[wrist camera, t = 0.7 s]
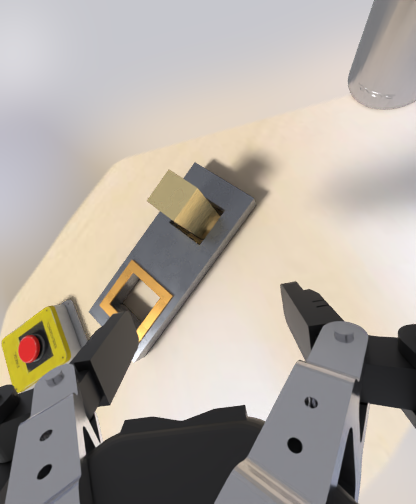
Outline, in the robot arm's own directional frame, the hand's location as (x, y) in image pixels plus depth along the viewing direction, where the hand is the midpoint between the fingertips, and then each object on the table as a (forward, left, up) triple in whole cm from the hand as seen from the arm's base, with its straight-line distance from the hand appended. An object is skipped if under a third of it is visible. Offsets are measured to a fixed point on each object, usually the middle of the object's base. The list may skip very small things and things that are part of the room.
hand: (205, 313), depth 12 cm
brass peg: (-5, -11, -18) cm, 22 cm away
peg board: (+2, -11, -18) cm, 22 cm away
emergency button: (+26, -21, -19) cm, 39 cm away
